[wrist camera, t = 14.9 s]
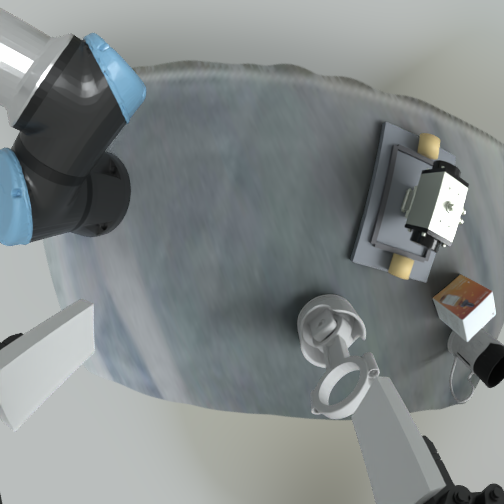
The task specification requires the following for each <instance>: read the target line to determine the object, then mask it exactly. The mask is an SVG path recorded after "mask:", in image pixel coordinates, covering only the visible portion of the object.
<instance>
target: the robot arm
mask: <svg viewBox="0 0 504 504" xmlns="http://www.w3.org/2000/svg"><path fill="white" fill-rule="evenodd" d="M145 97H146V87H145V85H144V83H143V82H142V80H141V79H140V78H139V76H138V75H137V74H136V73H135V72H134V70H133V69H132V68H131V67H130V66H129V65H128V64H127V63H126V61H124V59H123V58H122V57H121V56H120V55H119V54H118V53H117V52H116V51H115V50H114V49H113V48H111V47H110V46H109V45H108V44H107V43H106V42H105V41H104V40H103V39H102V38H101V37H100V36H98V35H97V34H95V33H90V34H89V35H87V36H85V37H84V38H83V41H82V40H80V39H79V38H77V37H76V36H75V35H73V34H67V35H63V36H60V37H52V38H51V37H50V36H48V35H46V34H45V33H43V32H41V31H40V30H38V29H36V28H35V27H33V26H31V25H30V24H28V23H26V22H25V21H23V20H21V19H19V18H18V17H16V16H14V15H12V14H11V13H9V12H7V11H5V10H3V9H1V8H0V105H1V106H3V107H5V108H6V110H7V114H8V119H9V124H10V126H11V127H13V128H15V129H17V130H20V133H19V135H18V136H17V138H16V140H15V143H14V144H13V146H12V148H11V149H9V148H3V149H1V150H0V243H1V244H3V245H7V246H13V245H18V244H23V245H26V244H28V243H30V242H33V241H37V240H41V239H44V238H48V237H52V236H56V235H60V234H63V233H67V232H72V233H75V234H79V235H82V236H86V237H96V236H100V235H104V234H107V233H109V232H111V231H112V230H114V229H115V228H116V227H117V226H118V225H119V224H120V222H121V221H122V219H123V218H124V216H125V214H126V211H127V209H128V206H129V201H130V192H131V189H130V180H129V176H128V173H127V170H126V168H125V166H124V164H123V163H122V162H121V161H120V159H119V158H117V157H116V156H115V155H113V154H111V153H108V152H105V150H106V149H107V148H108V146H109V145H110V144H111V142H112V141H113V140H114V138H115V137H116V136H117V135H118V133H119V132H120V131H121V130H122V128H123V127H124V126H125V125H126V124H128V123H129V121H130V118H131V116H132V115H133V114H134V113H135V111H136V110H137V109H138V108H139V106H140V105H141V104H142V103H143V101H144V99H145ZM94 352H95V343H94V304H93V303H90V302H88V301H86V300H83V299H80V300H78V301H76V302H75V303H73V304H71V305H70V306H68V307H66V308H65V309H63V310H62V311H60V312H58V313H57V314H55V315H54V316H52V317H51V318H49V319H47V320H46V321H44V322H42V323H41V324H39V325H38V326H36V327H35V328H33V329H31V330H30V331H29V332H27V333H25V334H24V335H23V334H22V333H19V334H16V335H12V336H10V337H8V338H7V339H5V340H4V341H3V342H2V343H1V342H0V418H1V420H2V421H3V422H4V423H5V424H6V425H7V426H8V427H9V428H11V429H12V430H13V431H14V432H16V431H17V429H18V428H19V427H20V426H21V425H22V424H23V423H24V422H25V421H26V420H27V419H28V418H29V417H30V416H31V415H32V414H33V413H34V412H35V410H36V409H38V408H39V406H40V405H41V404H42V403H43V402H44V401H45V400H46V399H47V398H48V397H49V396H50V395H51V394H52V393H53V392H54V391H55V390H56V389H57V388H58V387H59V386H60V385H61V384H62V383H63V382H64V381H65V380H66V379H67V378H68V377H69V376H70V375H71V374H73V373H74V372H75V371H76V370H77V369H78V367H80V366H81V365H82V364H83V363H84V362H85V361H86V360H87V359H88V358H89V357H90V356H91V355H92V354H93V353H94ZM351 418H352V421H353V424H354V428H355V431H356V434H357V438H358V441H359V444H360V447H361V451H362V454H363V458H364V461H365V465H366V468H367V472H368V476H369V479H370V483H371V487H372V490H373V494H374V498H375V502H376V504H504V491H503V489H502V487H500V486H499V485H497V484H490V485H489V486H487V487H486V488H485V489H484V490H483V491H482V492H474V493H471V492H470V491H469V490H468V489H467V488H466V487H464V486H461V485H457V486H455V485H454V484H453V482H452V480H451V478H450V476H449V474H448V472H447V470H446V468H445V466H444V464H443V462H442V460H440V459H441V458H440V456H439V454H438V453H437V450H436V448H435V446H434V445H433V443H432V442H431V441H430V440H429V439H428V438H427V437H426V436H422V435H421V433H420V432H419V430H418V428H417V426H416V424H415V422H414V421H413V419H412V417H411V415H410V413H409V411H408V409H407V408H406V406H405V404H404V402H403V400H402V399H401V397H400V395H399V393H398V392H397V390H396V388H395V386H394V385H393V383H392V381H391V380H390V378H389V377H380V376H376V377H375V379H374V381H373V382H372V384H371V386H370V388H369V389H368V391H367V393H366V395H365V396H364V398H363V400H362V401H361V403H360V405H359V406H358V408H357V409H356V411H355V412H354V414H353V416H352V417H351ZM0 504H2V500H1V495H0Z"/></svg>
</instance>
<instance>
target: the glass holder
mask: <svg viewBox="0 0 504 504" xmlns="http://www.w3.org/2000/svg"><path fill="white" fill-rule="evenodd" d="M447 347H448V350H449V352H450V353H452V354H453V355H454V356H455V359H454V363H453V367H452V371H451V375H450V380H449V383H450V391H451V394H452V396H453V397H454V399H455V400H456V401H457V402H460V403H463V402H466V401H468V400H469V399H470V398H471V397H472V395H473V393H474V385H473V383H472V382H471V381H470V377H471V375H472V374H473V373H474V374H475V375H477V376H478V377H479V378H480V379H481V380H482V381H483V382H484V383H485V384H486V386H487V387H489V388H492V387H494V386H496V385H497V384H499V383H500V382H501V381H502V380H503V379H504V345H503V344H502V343H500V342H499V341H498V340H496V339H495V338H494V337H493V336H491V335H490V334H489V333H487V332H486V331H485V330H483V329H482V328H481V329H480V330H479V331H478V332H477V333H476V334H475V335H474V336H473V337H472V338H471V339H470V340H469V341H468V342H466V341H465V340H464V339H463V338H461V337H460V336H459V335H458V334H457V333H456V332H455V331H453V330H452V332H451V334H450V336H449V339H448V344H447ZM457 357H458V358H459V359H460V360H461V361H462V362H463V363H464V364H465V365H466V366H467V367H468V368H469V369H470V370H471V371H472V372H471V373H470V374H469V376H468V381H469V383H470V384H471V386H472V392H471V394H470V396H469V397H468V398H466V399H465V400H462V401H460V400H458V399H457V398H456V397H455V395H454V393H453V390H452V376H453V372H454V368H455V365H456V360H457Z"/></svg>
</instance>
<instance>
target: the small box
mask: <svg viewBox="0 0 504 504" xmlns="http://www.w3.org/2000/svg"><path fill="white" fill-rule="evenodd" d="M433 301H434V304H435V307H436V310H437V313H438V316H439V318H440V319H441V320H442V321H443V322H444V323H445V324H447V325H448V326H449V327H450V328H451V329H452V330H453V331H455V332H456V333H457V334H458V335H459V336H460V337H461V338H463V339H464V340H465V341H466V342H468V341H469V340H470V339H471V338H472V337H473V336H474V335H475V334H476V333H477V332H478V331H479V330H480V329H481V328H482V327H483V326H485V325H486V324H487V323H488V322H489V321H490V320H491V319H492V318H493V317H494V316H495V315H496V311H495V304H494V298H493V292H492V291H491V290H489V289H487V288H486V287H484V286H482V285H480V284H478V283H476V282H474V281H473V280H471V279H469V278H467V277H465V276H463V275H461V274H460V275H459V276H458V277H457V278H456V279H455V280H454V281H452V282H451V283H450V284H449V285H448V286H446V287H445V288H444V289H443V290H442V291H440V292H439V293H438V294H437V295H435V296H434V297H433Z"/></svg>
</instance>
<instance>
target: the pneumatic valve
mask: <svg viewBox="0 0 504 504" xmlns="http://www.w3.org/2000/svg"><path fill="white" fill-rule="evenodd" d="M460 174H461V172H460V170H459V169H458V168H457V167H456V166H454V165H453V164H451V163H448V162H446V161H442V160H436V161H434V162H433V166H432V169H429V168H427V170H422V173H421V176H420V180H419V183H418V186H415V187H414V190H413V191H411V188H409V189H408V190H407V191H406V194H405V197H404V200H403V203H402V206H401V211H402V212H405V211H406V215H405V218H406V219H407V221H406V224H405V228H407V229H408V231H409V232H411V231H413V232H412V235H411V237H410V241H411V242H413V243H415V244H417V245H419V246H421V247H424V248H426V249H428V250H430V251H433V252H435V253H437V251H438V249H439V246H440V244H442V245H441V246H443V247H445V246H446V245H447V246H450V247H451V244H452V241H453V238H454V235H455V232H456V229H457V226H458V223H459V224H460V225H461V224H462V223H463V220H462V219H461V218H460V216H461V214H462V215H465V213H466V211H465V209H463V205H464V202H465V198H466V194H467V190H468V186H469V184H468V183H467V182H465V181H464V180H463V179H461V178H460Z"/></svg>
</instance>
